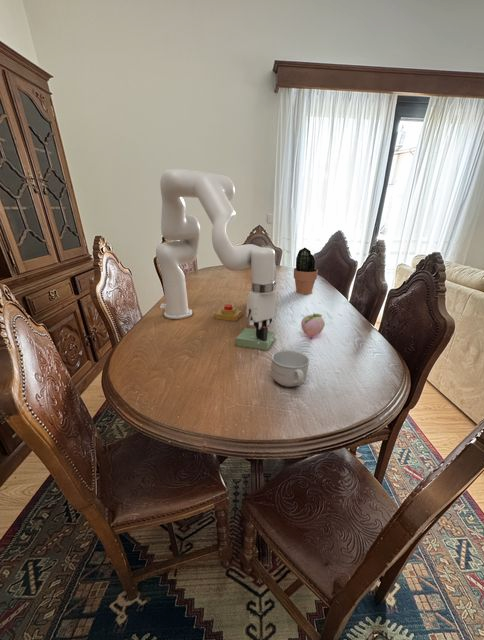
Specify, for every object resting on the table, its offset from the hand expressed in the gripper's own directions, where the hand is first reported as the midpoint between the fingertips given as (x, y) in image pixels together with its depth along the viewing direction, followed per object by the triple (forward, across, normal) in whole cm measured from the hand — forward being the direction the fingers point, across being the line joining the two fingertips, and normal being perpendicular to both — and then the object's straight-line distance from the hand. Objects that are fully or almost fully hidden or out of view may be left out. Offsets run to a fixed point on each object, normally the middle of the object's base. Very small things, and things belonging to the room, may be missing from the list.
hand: (261, 337), depth 103 cm
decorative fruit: (+4, -21, +4) cm, 22 cm away
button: (0, -5, -32) cm, 33 cm away
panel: (+4, 0, -3) cm, 5 cm away
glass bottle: (+4, -33, -43) cm, 54 cm away
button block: (+4, -5, -32) cm, 33 cm away
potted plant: (+4, -61, -43) cm, 75 cm away
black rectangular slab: (+1, 0, 0) cm, 1 cm away
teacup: (+4, +7, +24) cm, 26 cm away
